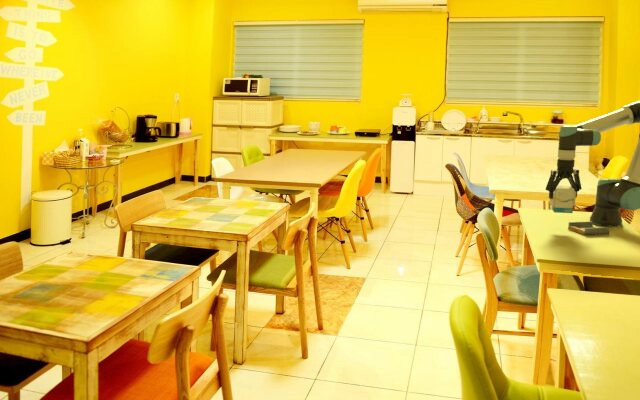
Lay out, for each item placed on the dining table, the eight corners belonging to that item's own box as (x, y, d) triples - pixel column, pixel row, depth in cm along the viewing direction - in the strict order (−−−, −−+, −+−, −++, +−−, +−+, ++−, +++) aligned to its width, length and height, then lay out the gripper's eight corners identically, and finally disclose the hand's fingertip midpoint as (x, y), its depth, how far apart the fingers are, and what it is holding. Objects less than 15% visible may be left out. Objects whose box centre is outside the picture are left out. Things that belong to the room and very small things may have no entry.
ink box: (572, 213, 293) (575, 188, 291) (553, 212, 295) (555, 188, 293) (569, 209, 302) (571, 185, 299) (551, 208, 303) (552, 185, 301)
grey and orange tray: (591, 228, 308) (591, 221, 307) (609, 234, 296) (610, 227, 295) (568, 229, 305) (568, 222, 304) (585, 235, 292) (586, 228, 292)
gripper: (582, 157, 300) (578, 202, 304) (539, 158, 294) (536, 204, 298) (592, 159, 292) (588, 205, 297) (549, 160, 287) (545, 207, 291)
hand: (562, 204), depth 298 cm, fingers closed on ink box, 10 cm apart
